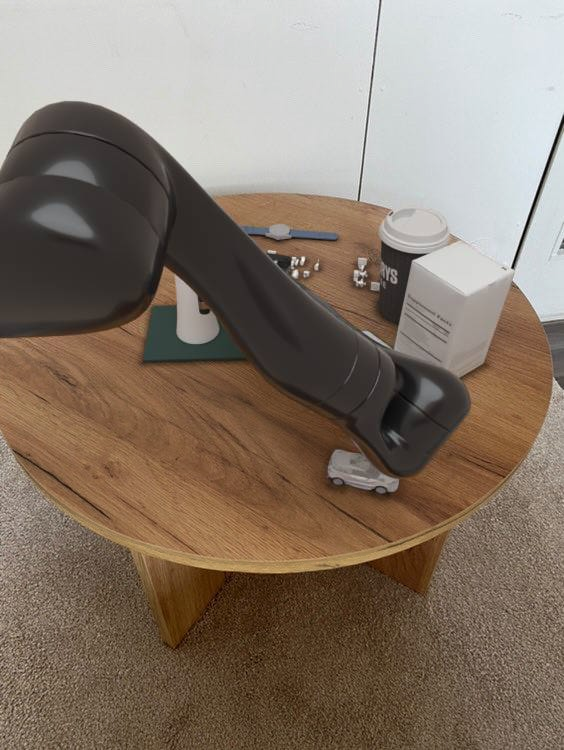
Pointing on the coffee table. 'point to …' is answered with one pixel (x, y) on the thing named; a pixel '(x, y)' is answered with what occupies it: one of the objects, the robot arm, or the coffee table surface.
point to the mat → (172, 349)
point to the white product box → (452, 307)
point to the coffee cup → (406, 251)
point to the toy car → (358, 473)
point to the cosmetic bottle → (193, 317)
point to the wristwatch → (287, 232)
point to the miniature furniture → (361, 262)
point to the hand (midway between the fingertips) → (204, 250)
